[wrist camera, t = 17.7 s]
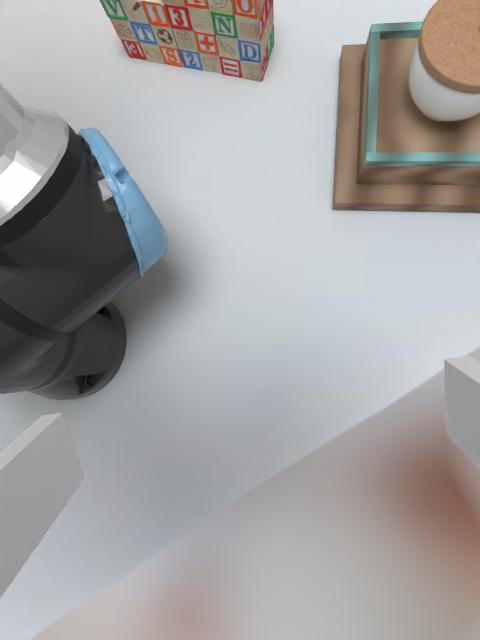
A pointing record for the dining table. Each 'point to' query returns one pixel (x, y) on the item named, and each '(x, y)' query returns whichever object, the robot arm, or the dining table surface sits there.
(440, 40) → the lidded jar
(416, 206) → the base
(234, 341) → the dining table surface
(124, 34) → the stack of blocks
